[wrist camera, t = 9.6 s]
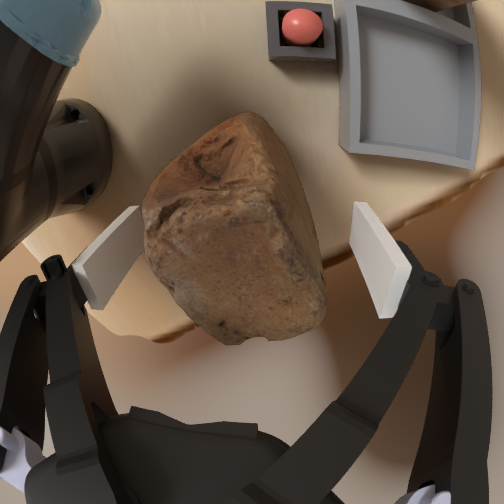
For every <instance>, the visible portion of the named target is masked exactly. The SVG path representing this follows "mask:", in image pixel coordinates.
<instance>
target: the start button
mask: <svg viewBox="0 0 504 504" xmlns="http://www.w3.org/2000/svg"><path fill="white" fill-rule="evenodd" d="M322 30H323V24H322V21H321V19H320V18H319V16H318V15H317V14H315V13H314V12H312V11H310V10H307V9H294V10H291V11H289V12H288V13H287V14H286V15H285V16H284V18H283V23H282V29H281V35H282V37H283V39H284V41H285V42H286V43H288V44H289V45H291V46H295V47H308V46H310V45H311V44H313V43H314V41H315V40H316V39H317V38H318V37H319V35H320V34H321V32H322Z"/></svg>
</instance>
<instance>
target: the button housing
mask: <svg viewBox="0 0 504 504" xmlns="http://www.w3.org/2000/svg"><path fill="white" fill-rule="evenodd" d="M294 9H307V10H310V11H312V12H314V13H315V14H317V15H318V16H319V18H320V19H321V21H322V24H323V30H322V32H321V34H320V35H319V37H318V43H319V48H315V47H295V46H280V42H279V25H278V18H284V16H285V15H286V14H287V13H288V12H289V11H291V10H294ZM266 16H267V32H268V50H269V60H291V61H315V62H328V63H329V62H331V61H333V60H335V59H336V51H335V34H334V21H333V10H332V5H330V4H321V3H309V2H288V1H266Z"/></svg>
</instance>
